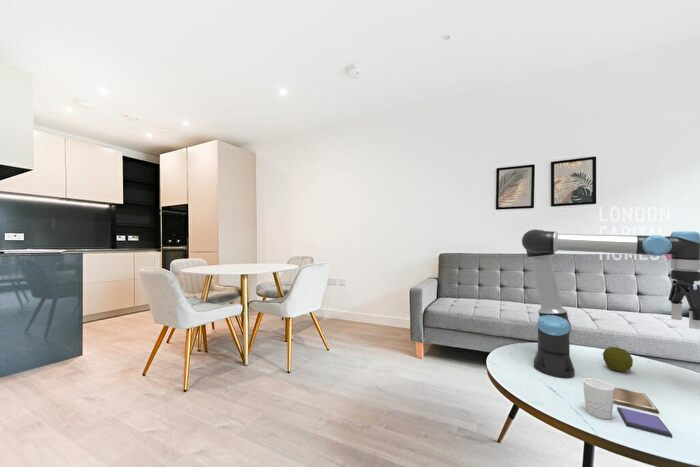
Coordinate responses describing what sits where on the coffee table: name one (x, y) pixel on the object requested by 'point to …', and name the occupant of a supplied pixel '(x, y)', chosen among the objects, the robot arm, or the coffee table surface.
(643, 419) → the ink pad
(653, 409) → the brown square coaster
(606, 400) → the white cup
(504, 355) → the coffee table surface
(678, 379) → the coffee table surface
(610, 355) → the apple
